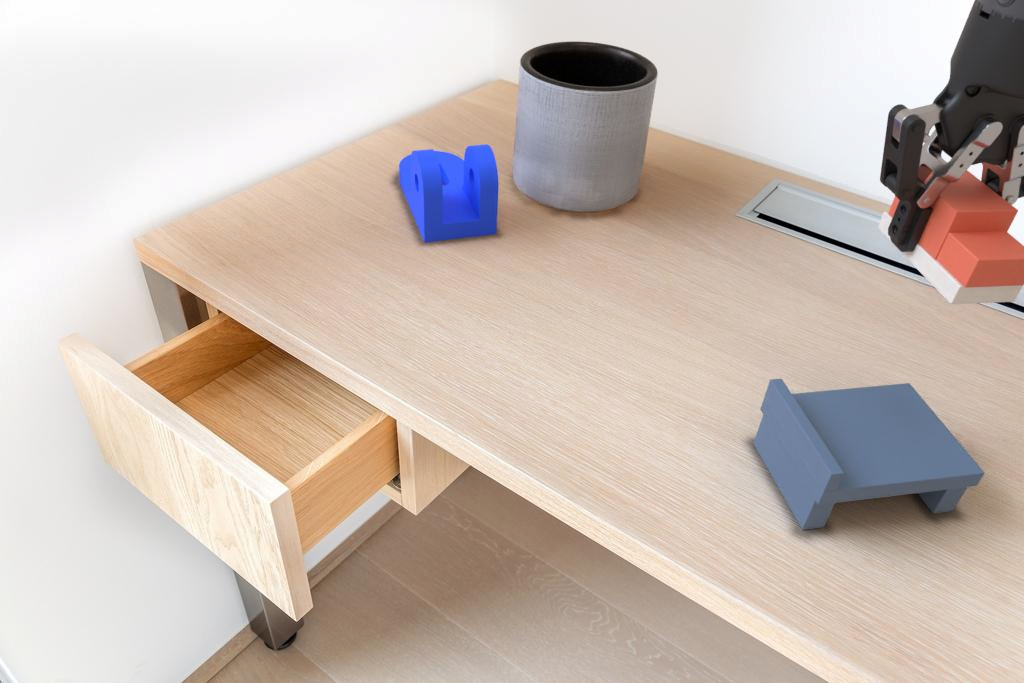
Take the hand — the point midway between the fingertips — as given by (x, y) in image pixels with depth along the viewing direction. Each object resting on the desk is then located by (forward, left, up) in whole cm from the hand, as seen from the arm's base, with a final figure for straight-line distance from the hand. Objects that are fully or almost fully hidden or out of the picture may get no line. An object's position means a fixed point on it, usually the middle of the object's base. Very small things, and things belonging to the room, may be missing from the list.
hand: (934, 244), depth 58 cm
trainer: (0, +1, -1) cm, 2 cm away
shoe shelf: (+4, +6, -18) cm, 19 cm away
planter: (+14, -44, -18) cm, 50 cm away
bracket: (+31, -42, -18) cm, 55 cm away
